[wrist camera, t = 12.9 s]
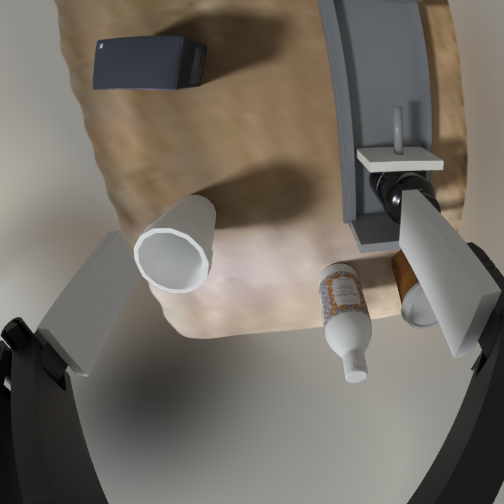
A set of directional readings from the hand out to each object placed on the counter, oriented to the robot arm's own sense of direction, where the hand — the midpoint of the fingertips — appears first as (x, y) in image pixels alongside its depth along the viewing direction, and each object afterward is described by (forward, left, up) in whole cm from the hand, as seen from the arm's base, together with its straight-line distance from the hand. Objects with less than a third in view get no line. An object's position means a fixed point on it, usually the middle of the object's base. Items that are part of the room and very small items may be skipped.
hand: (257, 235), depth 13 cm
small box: (-12, -12, -28) cm, 33 cm away
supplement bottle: (+8, +16, -28) cm, 33 cm away
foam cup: (+11, -13, -28) cm, 33 cm away
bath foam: (+26, +8, -28) cm, 39 cm away
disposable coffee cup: (+24, +21, -28) cm, 43 cm away
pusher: (+1, +16, -27) cm, 31 cm away
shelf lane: (-2, +16, -28) cm, 32 cm away
